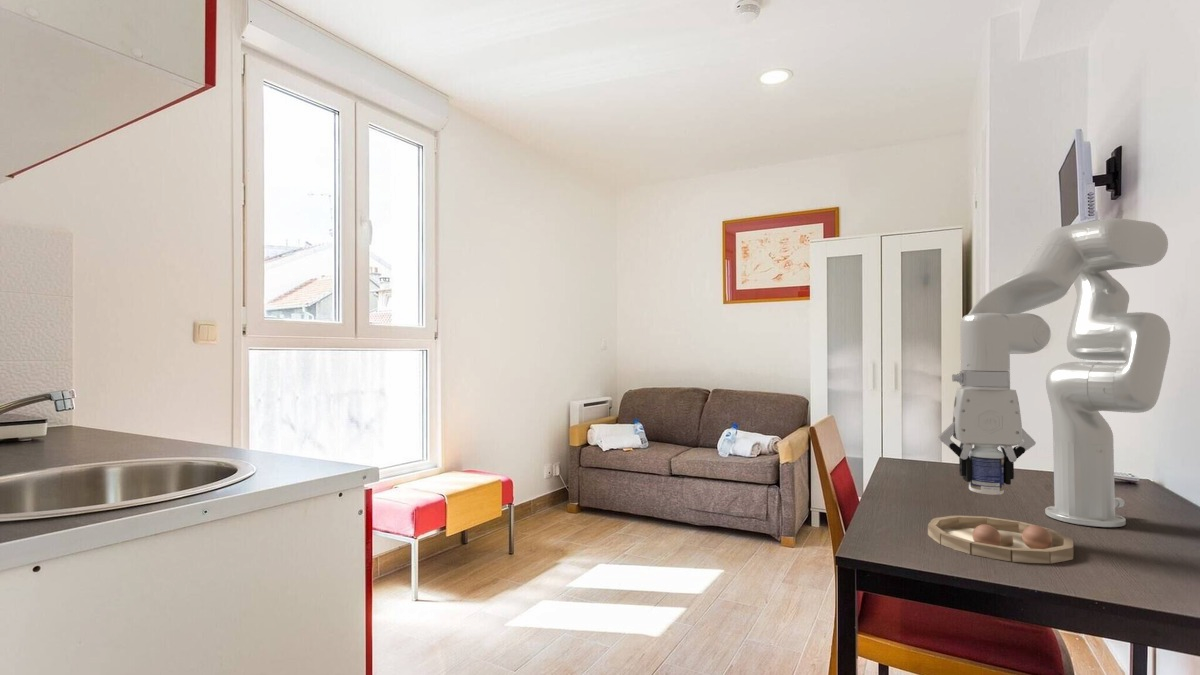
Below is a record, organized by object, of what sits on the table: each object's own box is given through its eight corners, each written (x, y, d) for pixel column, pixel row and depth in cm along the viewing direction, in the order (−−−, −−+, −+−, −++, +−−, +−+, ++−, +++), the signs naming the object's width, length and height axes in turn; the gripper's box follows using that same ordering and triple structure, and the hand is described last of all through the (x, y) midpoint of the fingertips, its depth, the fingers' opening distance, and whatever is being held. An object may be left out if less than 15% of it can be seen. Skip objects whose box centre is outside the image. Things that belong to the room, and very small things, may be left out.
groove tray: (982, 526, 116) (981, 511, 116) (1102, 559, 97) (1102, 542, 97) (903, 537, 109) (903, 522, 109) (1017, 576, 90) (1017, 557, 90)
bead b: (1032, 545, 101) (1032, 521, 101) (1058, 552, 98) (1057, 527, 98) (1016, 548, 100) (1016, 523, 100) (1042, 555, 96) (1041, 530, 96)
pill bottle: (1009, 496, 105) (1009, 440, 105) (976, 494, 106) (975, 439, 106) (996, 489, 110) (995, 436, 111) (964, 488, 111) (963, 435, 112)
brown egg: (983, 544, 102) (983, 520, 102) (1007, 551, 98) (1006, 526, 98) (966, 547, 100) (966, 522, 100) (990, 554, 97) (989, 529, 97)
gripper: (936, 380, 108) (937, 482, 108) (1049, 383, 103) (1050, 489, 102) (928, 379, 115) (928, 474, 115) (1033, 381, 110) (1034, 481, 109)
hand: (986, 480), depth 108 cm, fingers closed on pill bottle, 5 cm apart
